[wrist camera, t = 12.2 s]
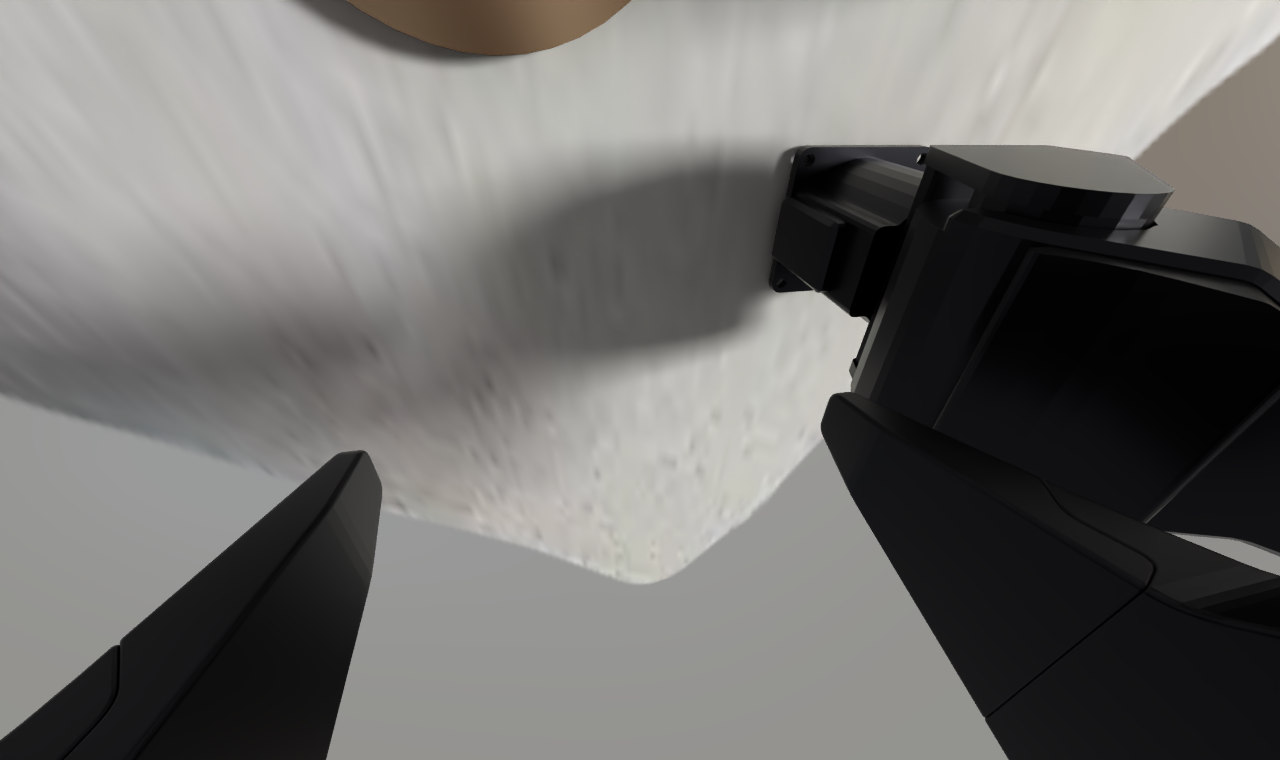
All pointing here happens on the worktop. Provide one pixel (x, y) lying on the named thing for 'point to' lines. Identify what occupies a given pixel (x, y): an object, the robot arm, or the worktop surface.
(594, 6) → the walnut board
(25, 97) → the worktop surface
